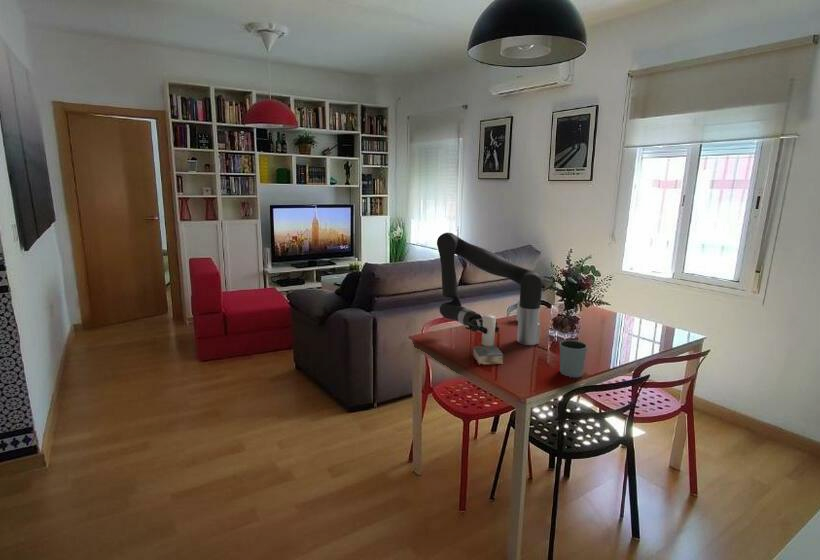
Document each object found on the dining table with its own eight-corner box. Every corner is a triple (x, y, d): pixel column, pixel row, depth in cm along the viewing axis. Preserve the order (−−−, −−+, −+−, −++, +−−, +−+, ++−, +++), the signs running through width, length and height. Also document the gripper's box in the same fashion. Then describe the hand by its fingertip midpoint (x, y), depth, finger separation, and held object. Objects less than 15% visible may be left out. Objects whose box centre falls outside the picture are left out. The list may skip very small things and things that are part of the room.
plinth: (495, 354, 196) (496, 345, 195) (502, 363, 187) (503, 354, 186) (473, 355, 195) (473, 346, 194) (478, 364, 186) (479, 355, 185)
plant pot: (588, 378, 173) (591, 349, 171) (561, 378, 173) (564, 348, 171) (579, 367, 183) (581, 339, 180) (554, 367, 183) (556, 339, 181)
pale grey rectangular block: (492, 341, 192) (493, 314, 189) (495, 345, 187) (497, 318, 184) (480, 341, 192) (481, 314, 189) (483, 346, 187) (485, 318, 184)
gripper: (456, 312, 197) (478, 324, 182) (483, 309, 203) (507, 319, 188) (455, 329, 198) (477, 341, 183) (482, 325, 204) (506, 336, 190)
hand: (492, 330), depth 186 cm, fingers closed on pale grey rectangular block, 5 cm apart
